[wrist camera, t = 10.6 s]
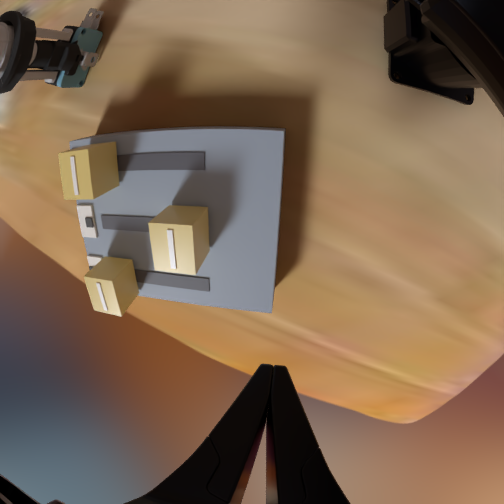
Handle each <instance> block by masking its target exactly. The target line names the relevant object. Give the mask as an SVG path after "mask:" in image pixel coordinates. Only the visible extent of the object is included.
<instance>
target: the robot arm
mask: <svg viewBox="0 0 504 504" xmlns="http://www.w3.org/2000/svg"><path fill="white" fill-rule="evenodd" d="M392 1H394V2H396V3H397V4H396V5H394V4H393V3H392ZM384 49H385V50H386V51H387V52H388V53H389V68H388V75H389V78H390V80H391V81H392V82H394V83H396V84H400V85H404V86H408V87H412V88H416V89H419V90H423V91H426V92H430V93H433V94H436V95H439V96H442V97H445V98H448V99H451V100H454V101H457V102H460V103H463V104H466V105H471V104H472V103H473V100H474V88H483V89H484V90H485V91H486V92H487V94H488V95H489V97H490V98H491V99H492V101H493V102H494V103H495V105H496V106H497V108H498V109H499V111H500V112H501V114H502V115H503V117H504V0H387V14H386V15H385V16H384ZM395 72H396V73H398V74H399V79H396V78H395V77H394V73H395ZM466 95H467V97H468V100H466V98H465V96H466ZM267 412H268V413H267ZM266 419H267V422H266ZM265 424H266V504H350V502H349V501H348V499H347V498H346V496H345V495H344V493H343V491H342V490H341V488H340V486H339V485H338V484H337V482H336V480H335V478H334V476H333V475H332V473H331V471H330V470H329V467H328V465H327V463H326V461H325V459H324V456H323V454H322V452H321V449H320V448H319V445H318V442H317V440H316V438H315V435H314V433H313V430H312V428H311V425H310V423H309V421H308V418H307V416H306V413H305V411H304V408H303V406H302V404H301V401H300V399H299V396H298V394H297V391H296V389H295V387H294V384H293V382H292V379H291V377H290V374H289V372H288V369H287V367H286V366H281V365H275V366H274V367H273V365H271V364H261V365H260V366H259V367H258V369H257V370H256V372H255V373H254V374H253V376H252V377H251V379H250V380H249V382H248V383H247V385H246V386H245V387H244V389H243V390H242V391H241V393H240V394H239V396H238V397H237V398H236V400H235V401H234V402H233V404H232V405H231V406H230V408H229V409H228V410H227V412H226V413H225V414H224V416H223V417H222V418H221V420H220V421H219V422H218V424H217V425H216V426H215V427H214V429H213V430H212V431H211V433H210V434H209V437H206V439H205V440H204V441H203V443H202V444H201V445H200V446H199V447H198V448H197V450H196V451H195V452H194V453H193V454H192V455H191V456H190V457H189V458H188V459H187V460H186V461H185V462H184V463H183V464H182V465H181V466H180V467H179V468H178V469H176V470H175V471H174V472H173V473H172V474H171V475H170V476H169V477H167V478H166V479H165V480H164V481H163V482H161V483H160V484H159V485H158V486H157V487H155V488H154V489H153V490H151V491H150V492H148V493H147V494H145V495H143V496H141V497H139V498H137V499H134V500H132V501H129V502H127V503H124V504H241V502H242V499H243V496H244V492H245V490H246V487H247V484H248V481H249V477H250V474H251V471H252V468H253V465H254V462H255V459H256V455H257V452H258V449H259V445H260V442H261V439H262V435H263V432H264V428H265ZM0 504H40V503H39V502H37V501H36V500H35V499H33V498H32V497H30V496H29V495H28V494H26V493H25V492H24V491H23V490H21V489H20V488H19V487H17V486H16V485H14V484H13V483H12V482H10V481H9V480H8V479H6V478H5V477H4V476H2V475H1V474H0ZM47 504H65V503H63V502H61V501H59V500H53V501H51V502H49V503H47Z"/></svg>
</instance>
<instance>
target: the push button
mask: <svg viewBox="0 0 504 504" xmlns="http://www.w3.org/2000/svg"><path fill="white" fill-rule="evenodd" d="M91 12H92V13H93V14H92V16H90V17H89V14H90V13H91ZM103 13H104V11H97V9H92V8H90V9H89V11H88V13H87V15H86V17H85V19H84V21H82V23H81V25H80V27H76V26H65V27H64V29H63V30H62V31H57V30H50V29H43V28H36V26H35V22H34V21H33V20H30V19H28V18H26V17H24V16H22V14H21V13H20V12H17V11H8V12H6V13H4V14H2V15H1V16H0V93H5V92H8V91H11V90H12V89H13V88H14V86H15V85H16V84H17V83H18V81H25V80H42V79H45V82H46V83H48V84H52V85H55V86H59V87H62V88H70V87H82V86H83V84H84V82H85V78H86V75H87V72H88V70H89V67H90V66H91V67H93V66H95V64H96V62H97V59H98V57H99V54H98V53H95V52H96V49H97V47H98V45H99V42H100V40H101V38H102V35H103V33H102V32H101V31H97V29H98V26H99V24H98V23H99V21H100V19H101V17H102V15H103ZM97 15H100V16H99V18H98V19H96V16H97ZM91 21H92V22H91ZM36 37H41V38H50V39H59V40H58V41H48V40H42V41H40V40H35V38H36ZM93 57H94V61H93V62H92V59H93ZM91 62H92V63H91ZM27 68H39V69H43V70H27Z"/></svg>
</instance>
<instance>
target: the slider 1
mask: <svg viewBox="0 0 504 504" xmlns="http://www.w3.org/2000/svg"><path fill="white" fill-rule="evenodd" d="M58 155H59V165H60V173H61V181H62V188H63V194H64V200H86V199H95V198H97V197H99V196H101V195H103V194H104V193H106V192H108V191H110V190H112V189H114V188H116V187H118V186H120V185H119V175H118V163H117V149H116V141H115V142H106V143H98V144H90V145H85V146H81V147H78V148H74V149H71V150H68V151H64V152H61V153H58Z"/></svg>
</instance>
